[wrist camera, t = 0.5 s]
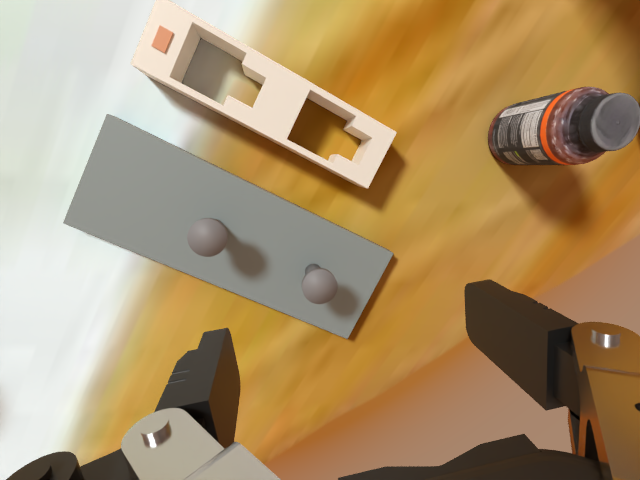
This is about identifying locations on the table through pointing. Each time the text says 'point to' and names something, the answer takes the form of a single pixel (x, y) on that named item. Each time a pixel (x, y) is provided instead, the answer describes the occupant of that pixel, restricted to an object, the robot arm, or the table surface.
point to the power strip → (275, 95)
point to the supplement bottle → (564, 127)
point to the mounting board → (253, 217)
